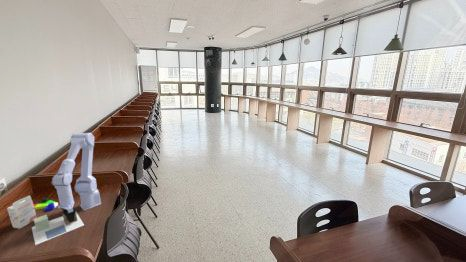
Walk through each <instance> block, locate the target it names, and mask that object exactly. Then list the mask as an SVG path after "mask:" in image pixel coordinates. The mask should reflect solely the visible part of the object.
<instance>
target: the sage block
mask: <svg viewBox="0 0 466 262" xmlns="http://www.w3.org/2000/svg"><path fill="white" fill-rule="evenodd" d="M49 221H50V220H49V217H48V215H47V214H44V215H41V216H37V218H35V219H34V221H33V222H34V226H36V230H37V232H39V231H41V230H44V229H47V228H49V227H50V225H49Z"/></svg>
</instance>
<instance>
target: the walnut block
mask: <svg viewBox="0 0 466 262" xmlns="http://www.w3.org/2000/svg"><path fill="white" fill-rule="evenodd" d="M76 212H77V211H76ZM76 212H75V218H74V221H73V222H75V221H78V220H77V216H76ZM62 216H63V218H64V222H65V224H66V225H68V224H70V223H73V222H70V223H69V221H68V219H67V217H66V216H65V215H64V214H63V212H62Z"/></svg>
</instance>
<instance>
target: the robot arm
mask: <svg viewBox="0 0 466 262" xmlns="http://www.w3.org/2000/svg"><path fill="white" fill-rule="evenodd" d="M69 140H70V141H69V142H70V143H71V144H70V147H69V150H68V154H67V156H66V158H65V159H64V160H62V162H61V164H60V167H59V169H58V171H57V172H56V173H57V174H55V175H53V177H52V179H51V184H52V185H53V186H54V188H55V189H56V193H57V197H58V201H59V204H58V205H57V206H56V208H57V209H61V210H62V213H63V214H64V215H65V216H66V217H67V219H68V221H69V223H70V222H73V221H74V218H75V212H77V207H74V205H75V200H74V196H73V191H72V185H71V183H72V181H73V171H74V168H75V166H76V162H75V160H76V158H77V155H78V154H79V152H80V150H82V152H81V165H80V166H81V168H80V176H79V177H78V178H77V179H76V181H75V185H74V190H75V192H76V193H78V195H79V198H80V203H81V204H80V205H79V206H80V208H81V209H82V211H86V210H89V209H92V208H94V207H96V206H100V205H101V204H102V200H101V195H100V192H99V189H98V188H97V186H98V184H97V179H96V178H95V176H93V175H92V174H93V173H92V172H93V159H94V158H93V157H94V147H95V136H94V135H93V133H92V132H81V133H80V132H74V133H72V134H71V137H70V139H69ZM63 214H62V215H63Z"/></svg>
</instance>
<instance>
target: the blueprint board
mask: <svg viewBox="0 0 466 262" xmlns="http://www.w3.org/2000/svg"><path fill="white" fill-rule="evenodd" d="M76 216H77V220H78V221H75V222H73V223H70V224H68V225H66V224H65V222H64V218H63V215H62V216H59V217H56V218H54V219H51V220H48V221H49V225H50V227H49V228H47V229H44V230H41V231H39V232H37V230H36V226H35V225H34V226H32V227H31V232H32V235H33V240H34V244H35V246H37V245H39V244H41V243H44V242H46V241H50V240H51V239H53V238H56V237H59V236H61V235H64V234H66V233H69V232H72V231H74V230H76V229H78V228H81V227H83V226H85V224H84V222H83V221H82V219H81V218H80V215H79V214H78V212H77V211H76Z"/></svg>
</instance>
